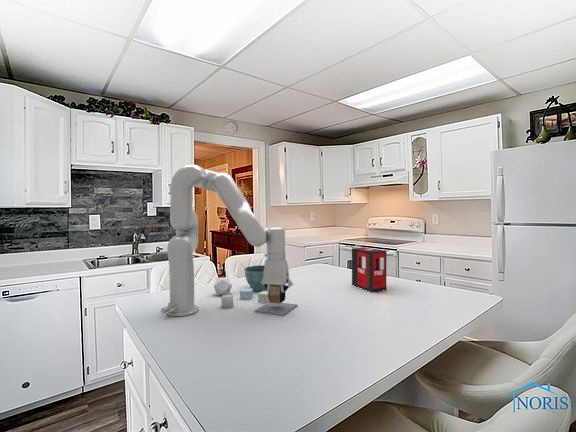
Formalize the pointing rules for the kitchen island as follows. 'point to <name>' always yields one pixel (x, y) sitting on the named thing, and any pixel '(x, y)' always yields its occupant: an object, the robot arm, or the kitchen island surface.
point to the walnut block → (275, 294)
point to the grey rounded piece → (227, 301)
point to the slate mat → (276, 308)
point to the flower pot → (255, 277)
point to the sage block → (263, 297)
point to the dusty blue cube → (246, 294)
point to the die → (222, 286)
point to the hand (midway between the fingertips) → (276, 300)
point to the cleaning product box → (369, 269)
